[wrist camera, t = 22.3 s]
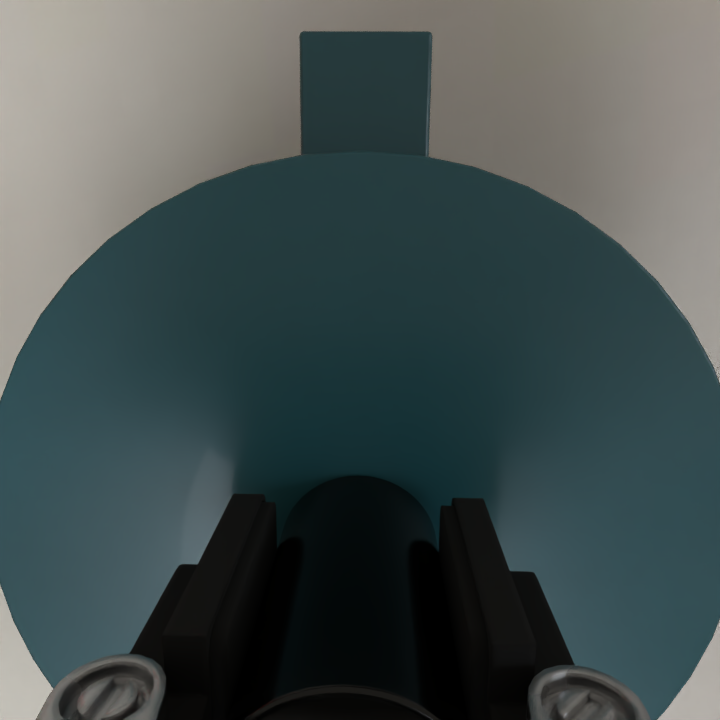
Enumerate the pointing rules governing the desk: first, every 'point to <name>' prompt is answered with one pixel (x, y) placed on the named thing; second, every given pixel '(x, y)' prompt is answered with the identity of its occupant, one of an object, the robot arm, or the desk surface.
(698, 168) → the desk surface
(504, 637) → the robot arm
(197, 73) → the desk surface
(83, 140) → the desk surface
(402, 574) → the lid
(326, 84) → the pot
